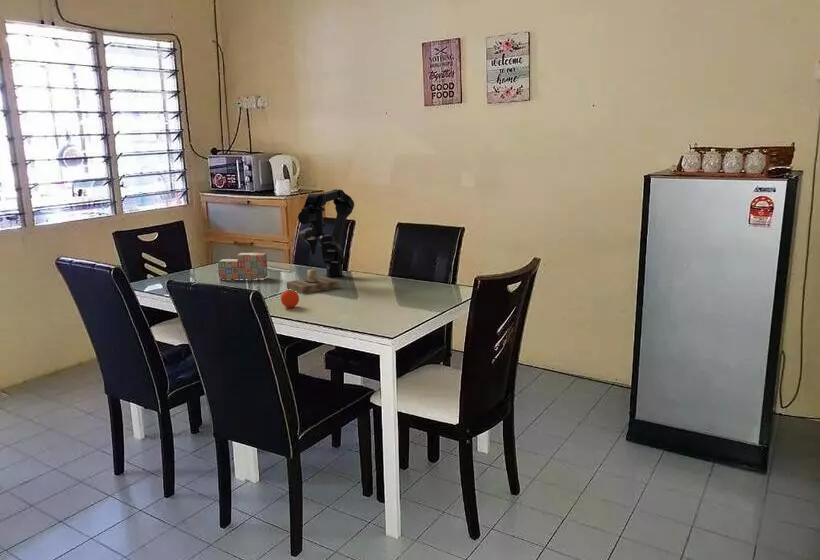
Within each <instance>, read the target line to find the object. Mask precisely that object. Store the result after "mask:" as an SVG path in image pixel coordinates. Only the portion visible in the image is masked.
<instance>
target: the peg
mask: <svg viewBox="0 0 820 560" xmlns="http://www.w3.org/2000/svg"><path fill="white" fill-rule="evenodd" d="M317 277H318V271H317V269H307V279H308V283H316V282H317Z"/></svg>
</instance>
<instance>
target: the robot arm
mask: <svg viewBox="0 0 820 560" xmlns="http://www.w3.org/2000/svg"><path fill="white" fill-rule="evenodd" d="M331 201H333V202H332V203H333V204H334V206H335V207H334V209H335V211H336V212H335V213H336V217H335V220H334V225H333V228H332V231H331V235H330V234H326V232H325V231H324V227H326V223H324V213H323V212H324V211H325V207H324V206H325V205H326V204H327V203H328V202H331ZM354 207H355V201H354V200H353V198H352V197H351V196H350V195H348V194H347V193H345V192H344V190H343V189H332V190H329V191H326V192H322V193H308V194H307V197H306V199H305V201H304V205H303V208H301V211H300V212H299V213H298V216H297V220H298V222H299V223H300V224H302V225H307V228H305V229H302V230H301V231H299V232H298V236H299V238H300V240H303V241H304V242H306V243H307V246H308V247H309V251H310V253H311V255H312V256H313V255H315V253H316V250H317V244H318V245H319V247H320V253H321V254H320V255H321V258H322V260H323V263H324V264H326V265H327V266H326V275H325V276H326V277H328V276H329V277H328V278H331V277H332V278H331V279H334V277H335V278H341V277H345V275H344V274H343V265H344V264H345V262H346V258H345V257H344V255H343V254H342V253H343V250H342V246H341V242H342V238H343V234H344V231H345V227H346V224H347V218H348V217H349V216H350V215H351V214H352V213H353V210H354ZM340 276H341V277H340Z"/></svg>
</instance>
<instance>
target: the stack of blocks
mask: <svg viewBox="0 0 820 560" xmlns="http://www.w3.org/2000/svg"><path fill="white" fill-rule="evenodd" d="M236 257H237V258H236V259H235V258H224V259H220V260H219V261H218V271H219V272H218V273H219V279H220V278H221V279H256V278H265V277H266V276H268V277H269V275H268V259H267V258H268V257H267V253H266V252H240V253H238V254H237V255H236Z"/></svg>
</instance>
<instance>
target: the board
mask: <svg viewBox="0 0 820 560" xmlns="http://www.w3.org/2000/svg"><path fill="white" fill-rule="evenodd" d="M287 288H289V289H292V290H294V291H295V290H297V291H298V292H299V294H301V293H302V294H301V295H304V294H303V293H306V294H310V293H309V292H312V293H316V292H315V291H318V292H322V291H321V290H324V291H329V290H328V289H330V290H333V289H334V288H335V289H340V283H339V280H336V279H334V278H331V277H327V276H326V277H325V276H317V282H316V283H308V278H304V279H298V280H297V279H296V280H290V281H286V289H287ZM289 289H288V290H289ZM298 292H297V293H298Z"/></svg>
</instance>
